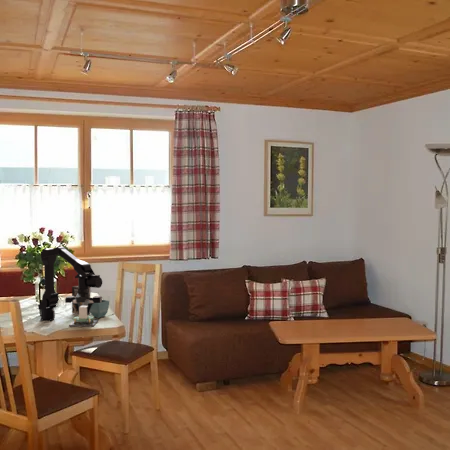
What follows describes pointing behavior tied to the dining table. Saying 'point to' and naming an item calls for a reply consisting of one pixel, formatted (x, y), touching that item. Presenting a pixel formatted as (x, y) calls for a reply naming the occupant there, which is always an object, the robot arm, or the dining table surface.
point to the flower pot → (99, 308)
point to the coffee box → (74, 309)
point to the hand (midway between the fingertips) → (83, 315)
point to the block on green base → (83, 314)
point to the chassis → (84, 323)
